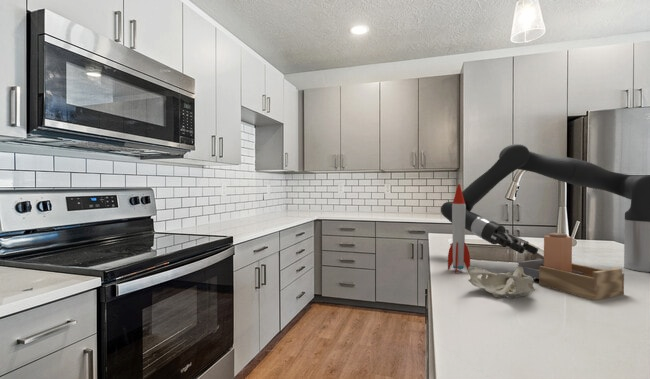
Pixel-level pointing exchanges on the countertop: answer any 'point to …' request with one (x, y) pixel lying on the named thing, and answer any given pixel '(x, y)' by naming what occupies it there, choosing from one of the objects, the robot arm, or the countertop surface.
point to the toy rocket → (458, 234)
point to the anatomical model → (502, 282)
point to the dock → (584, 281)
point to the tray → (535, 268)
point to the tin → (558, 252)
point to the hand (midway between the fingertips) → (530, 251)
